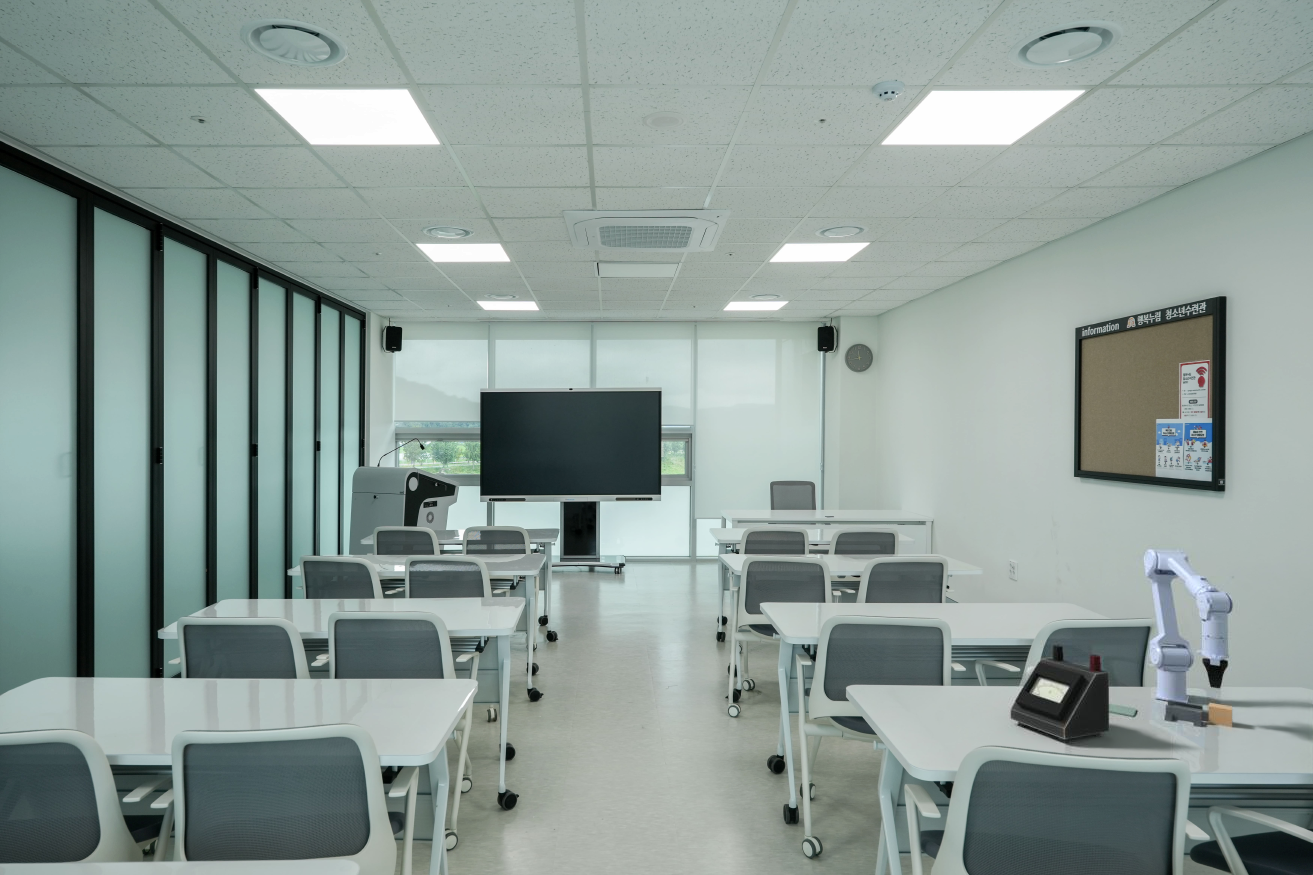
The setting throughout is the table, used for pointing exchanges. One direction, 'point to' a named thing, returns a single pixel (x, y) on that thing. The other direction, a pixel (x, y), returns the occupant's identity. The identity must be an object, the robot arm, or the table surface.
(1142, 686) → the table surface
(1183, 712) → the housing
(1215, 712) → the plug
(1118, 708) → the mat
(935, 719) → the table surface
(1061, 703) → the voltmeter
